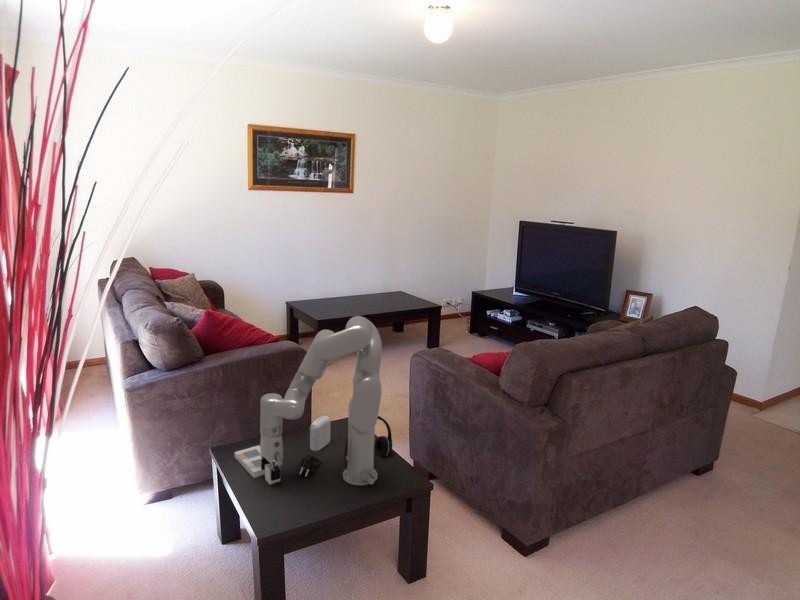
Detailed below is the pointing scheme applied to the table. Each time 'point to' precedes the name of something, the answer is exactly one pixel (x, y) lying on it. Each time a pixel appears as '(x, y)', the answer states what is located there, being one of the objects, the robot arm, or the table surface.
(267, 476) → the plug
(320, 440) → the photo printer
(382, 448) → the headphones
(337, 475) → the table surface
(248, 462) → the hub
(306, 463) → the power plug
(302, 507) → the table surface
